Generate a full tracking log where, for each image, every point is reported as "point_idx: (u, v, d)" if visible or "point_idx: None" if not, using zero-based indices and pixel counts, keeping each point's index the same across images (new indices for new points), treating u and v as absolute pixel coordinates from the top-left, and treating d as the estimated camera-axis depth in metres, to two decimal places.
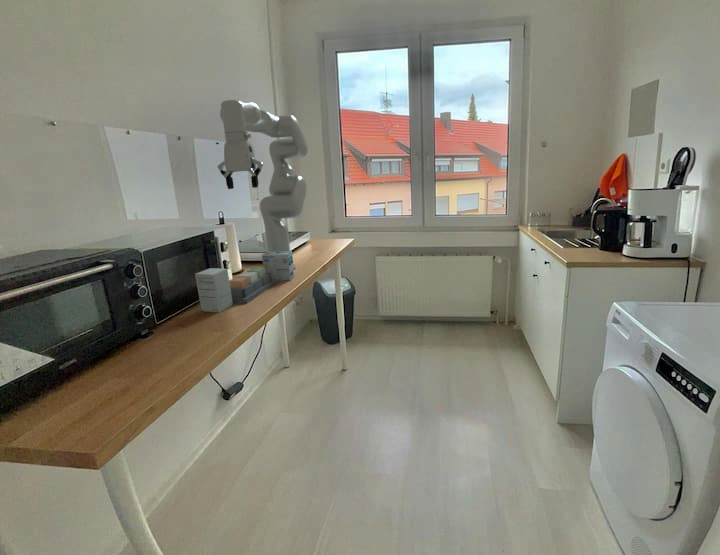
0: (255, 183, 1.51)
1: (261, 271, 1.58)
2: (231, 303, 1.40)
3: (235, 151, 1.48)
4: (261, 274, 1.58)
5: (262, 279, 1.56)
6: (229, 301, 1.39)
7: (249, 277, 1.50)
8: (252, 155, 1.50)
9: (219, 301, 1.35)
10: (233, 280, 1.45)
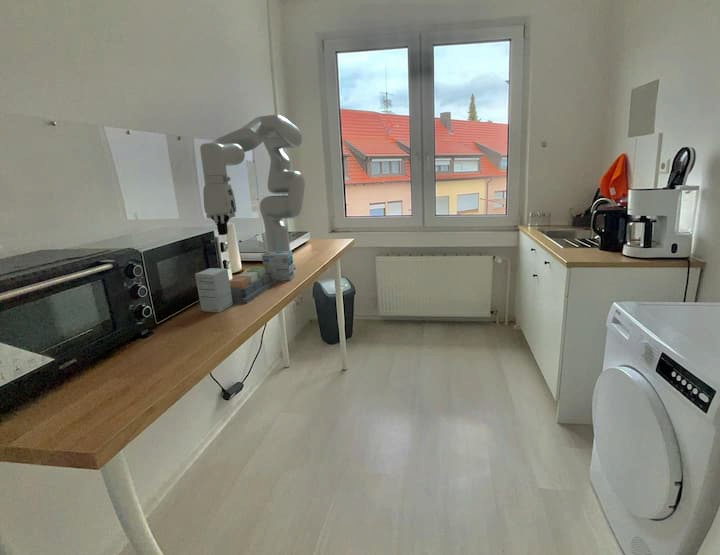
0: (224, 230, 1.48)
1: (261, 271, 1.58)
2: (231, 303, 1.40)
3: (214, 194, 1.44)
4: (261, 274, 1.58)
5: (262, 279, 1.56)
6: (229, 301, 1.39)
7: (249, 277, 1.50)
8: (232, 198, 1.46)
9: (219, 301, 1.35)
10: (233, 280, 1.45)
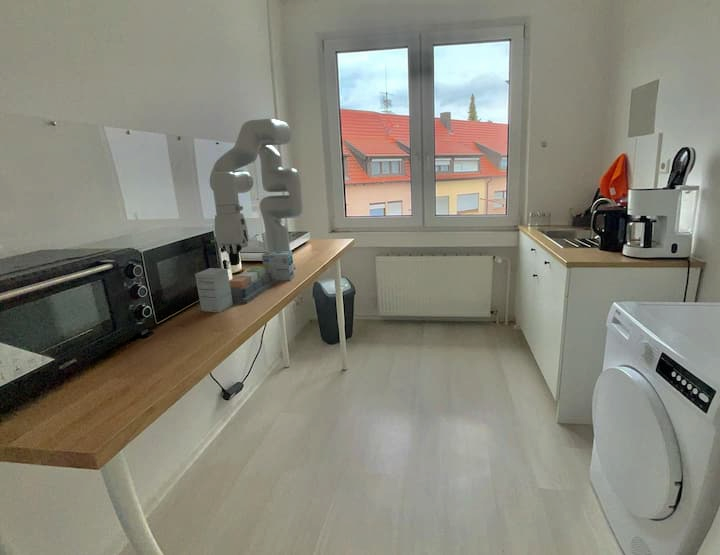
0: (236, 261, 1.43)
1: (261, 271, 1.58)
2: (231, 303, 1.40)
3: (226, 224, 1.39)
4: (261, 274, 1.58)
5: (262, 279, 1.56)
6: (229, 301, 1.39)
7: (249, 277, 1.50)
8: (244, 227, 1.41)
9: (219, 301, 1.35)
10: (233, 280, 1.45)
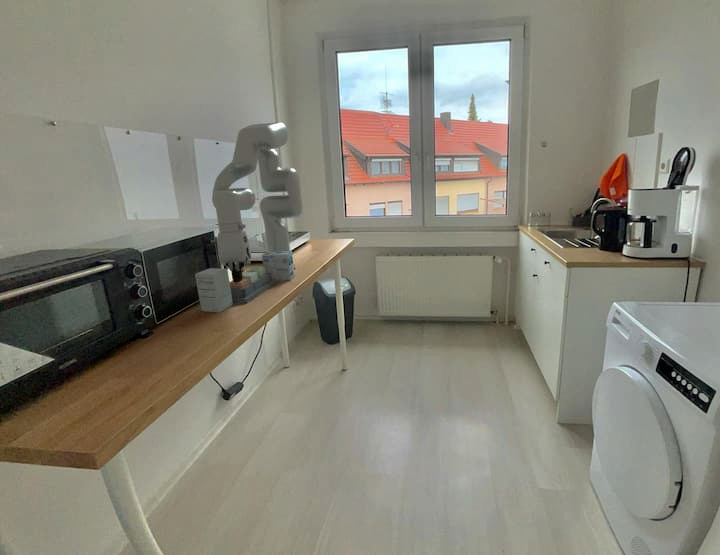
0: (239, 277, 1.45)
1: (261, 271, 1.58)
2: (231, 303, 1.40)
3: (229, 242, 1.40)
4: (261, 274, 1.58)
5: (262, 279, 1.56)
6: (229, 301, 1.39)
7: (249, 277, 1.50)
8: (247, 245, 1.42)
9: (219, 301, 1.35)
10: (233, 282, 1.45)
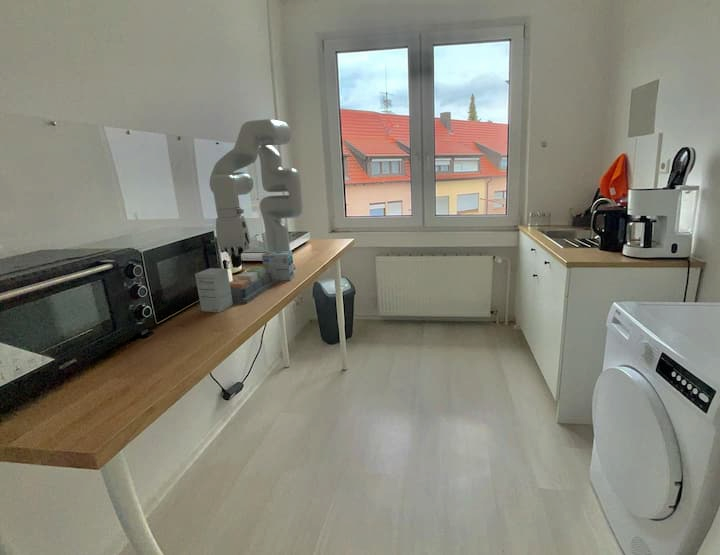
0: (238, 263, 1.44)
1: (261, 271, 1.58)
2: (231, 303, 1.40)
3: (228, 227, 1.39)
4: (261, 274, 1.58)
5: (262, 279, 1.56)
6: (229, 301, 1.39)
7: (249, 277, 1.50)
8: (246, 230, 1.42)
9: (219, 301, 1.35)
10: (233, 283, 1.45)
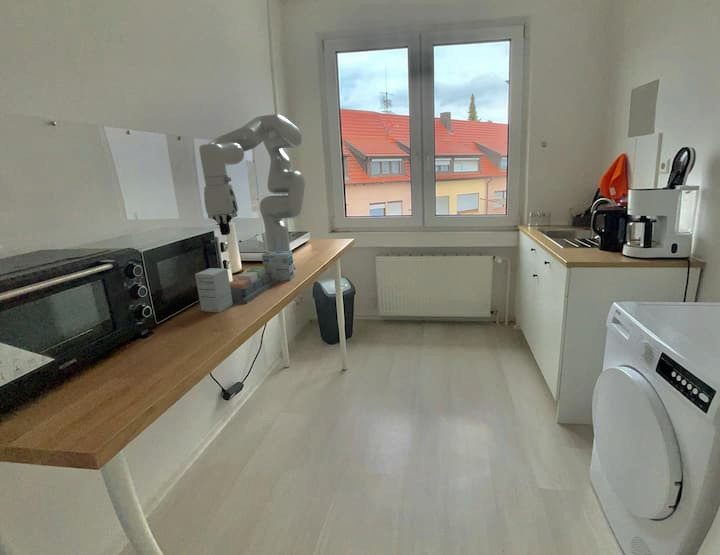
0: (227, 230, 1.50)
1: (261, 271, 1.58)
2: (231, 303, 1.40)
3: (216, 195, 1.45)
4: (261, 274, 1.58)
5: (262, 279, 1.56)
6: (229, 301, 1.39)
7: (249, 277, 1.50)
8: (233, 198, 1.47)
9: (219, 301, 1.35)
10: (233, 283, 1.45)
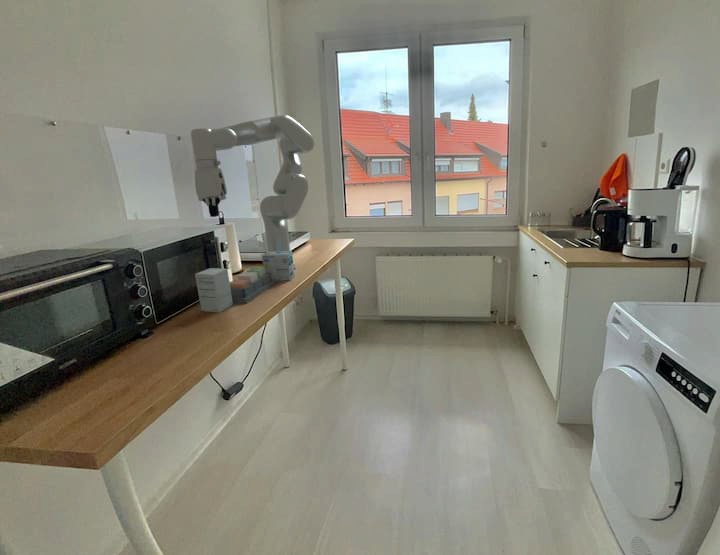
0: (215, 212, 1.56)
1: (261, 271, 1.58)
2: (231, 303, 1.40)
3: (205, 177, 1.51)
4: (261, 274, 1.58)
5: (262, 279, 1.56)
6: (229, 301, 1.39)
7: (249, 277, 1.50)
8: (222, 181, 1.53)
9: (219, 301, 1.35)
10: (233, 283, 1.45)
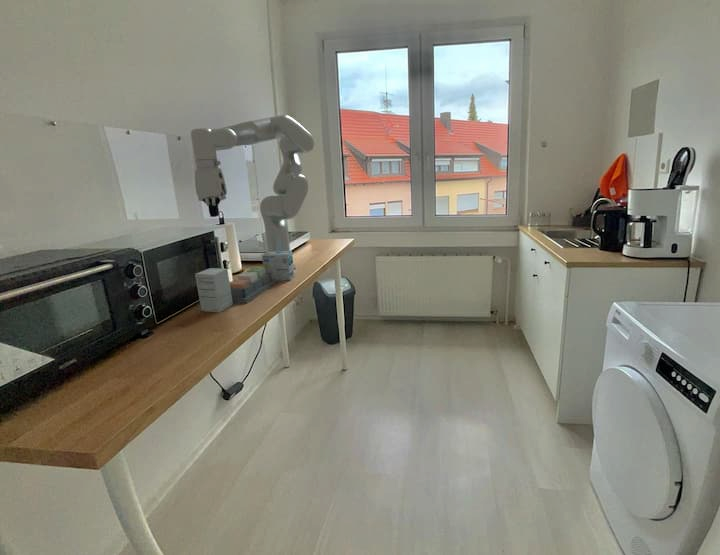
0: (215, 212, 1.56)
1: (261, 271, 1.58)
2: (231, 303, 1.40)
3: (205, 177, 1.51)
4: (261, 274, 1.58)
5: (262, 279, 1.56)
6: (229, 301, 1.39)
7: (249, 277, 1.50)
8: (222, 181, 1.53)
9: (219, 301, 1.35)
10: (233, 283, 1.45)
